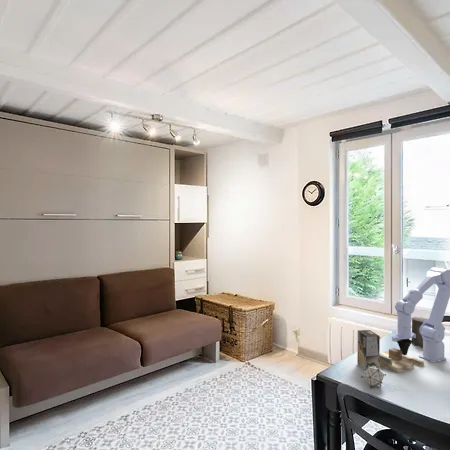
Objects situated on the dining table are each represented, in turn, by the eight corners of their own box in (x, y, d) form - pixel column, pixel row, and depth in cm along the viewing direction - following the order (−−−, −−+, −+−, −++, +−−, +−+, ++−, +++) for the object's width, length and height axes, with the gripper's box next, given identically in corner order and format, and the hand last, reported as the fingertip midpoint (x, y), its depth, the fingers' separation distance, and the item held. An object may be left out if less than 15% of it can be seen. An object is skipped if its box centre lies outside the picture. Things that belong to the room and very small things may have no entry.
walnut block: (394, 356, 167) (394, 348, 167) (402, 359, 163) (402, 350, 163) (388, 357, 165) (388, 349, 165) (396, 360, 162) (396, 352, 162)
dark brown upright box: (410, 344, 189) (410, 317, 189) (412, 340, 197) (413, 313, 197) (431, 349, 184) (431, 320, 184) (432, 343, 192) (433, 316, 192)
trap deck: (393, 354, 176) (393, 345, 176) (423, 365, 161) (423, 355, 161) (367, 360, 167) (367, 350, 167) (397, 372, 153) (397, 362, 153)
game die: (378, 396, 139) (390, 383, 133) (357, 387, 141) (368, 373, 135) (378, 378, 146) (389, 364, 140) (358, 369, 148) (368, 355, 142)
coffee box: (380, 372, 153) (380, 336, 153) (366, 373, 153) (366, 336, 153) (369, 364, 162) (370, 329, 162) (356, 364, 162) (356, 329, 162)
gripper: (406, 322, 174) (406, 349, 174) (386, 325, 167) (386, 354, 167) (419, 325, 168) (419, 354, 168) (399, 329, 161) (399, 359, 161)
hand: (403, 354), depth 167 cm, fingers closed
